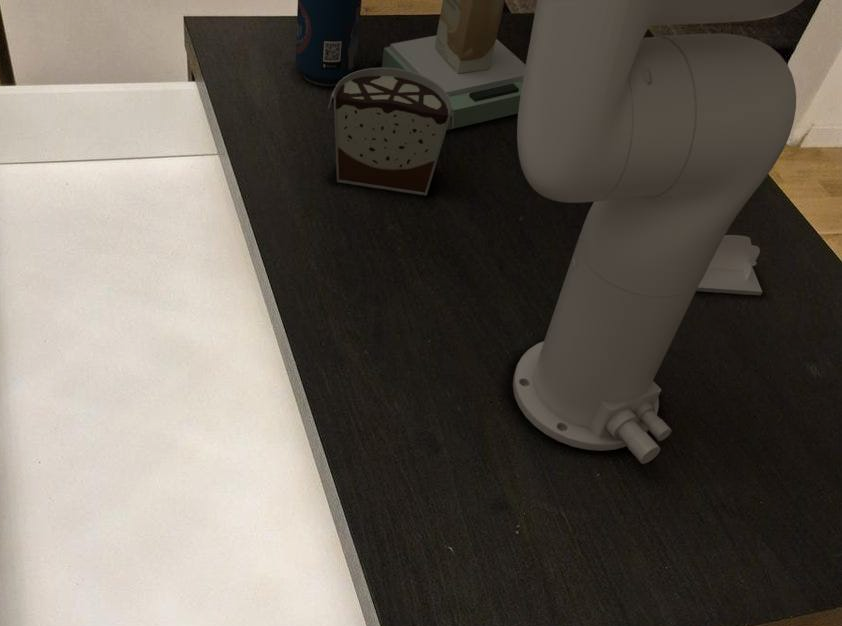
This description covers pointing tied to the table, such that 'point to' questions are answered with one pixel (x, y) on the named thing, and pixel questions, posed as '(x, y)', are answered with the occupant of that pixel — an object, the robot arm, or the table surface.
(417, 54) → the scale
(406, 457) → the table surface
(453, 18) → the cosmetic box
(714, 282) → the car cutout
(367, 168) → the food container
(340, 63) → the soda can
